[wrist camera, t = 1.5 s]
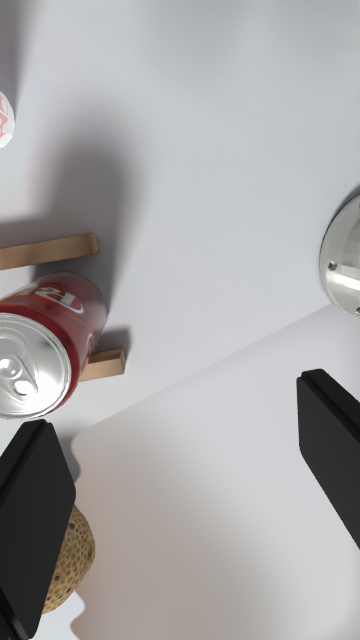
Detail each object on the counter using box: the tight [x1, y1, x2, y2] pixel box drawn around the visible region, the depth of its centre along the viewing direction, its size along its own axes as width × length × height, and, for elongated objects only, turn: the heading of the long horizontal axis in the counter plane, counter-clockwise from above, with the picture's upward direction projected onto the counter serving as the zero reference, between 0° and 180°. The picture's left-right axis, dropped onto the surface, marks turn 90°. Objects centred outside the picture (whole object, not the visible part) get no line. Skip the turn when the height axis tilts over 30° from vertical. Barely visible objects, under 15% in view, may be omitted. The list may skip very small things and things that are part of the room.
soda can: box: [0, 272, 107, 420], centre depth 22 cm, size 7×7×12 cm
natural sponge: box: [42, 506, 95, 614], centre depth 31 cm, size 9×9×10 cm
